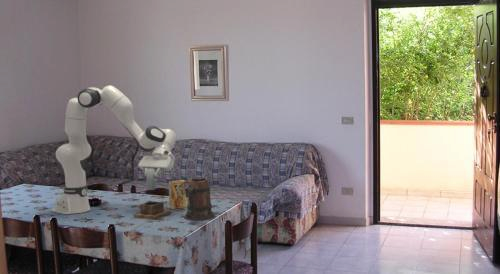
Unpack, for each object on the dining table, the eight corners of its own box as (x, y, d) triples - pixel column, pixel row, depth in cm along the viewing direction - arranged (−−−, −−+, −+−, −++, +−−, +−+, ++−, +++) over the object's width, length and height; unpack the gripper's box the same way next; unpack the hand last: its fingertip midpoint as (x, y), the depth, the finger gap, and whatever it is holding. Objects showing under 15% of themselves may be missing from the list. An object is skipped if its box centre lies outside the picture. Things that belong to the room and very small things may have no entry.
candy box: (183, 206, 319) (182, 179, 317) (186, 207, 315) (185, 180, 314) (169, 208, 314) (168, 181, 313) (172, 209, 311) (171, 182, 309)
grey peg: (145, 189, 296) (144, 169, 295) (150, 188, 300) (149, 168, 299) (152, 190, 294) (151, 169, 293) (157, 188, 298) (156, 168, 297)
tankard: (190, 212, 303) (189, 176, 301) (220, 213, 298) (218, 177, 296) (173, 223, 280) (171, 184, 278) (204, 225, 276) (203, 185, 274)
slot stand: (133, 217, 295) (133, 205, 295) (149, 211, 308) (149, 199, 307) (155, 219, 289) (154, 207, 288) (170, 213, 301) (170, 201, 301)
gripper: (142, 151, 306) (131, 171, 298) (172, 152, 297) (163, 173, 289) (147, 158, 310) (137, 178, 303) (178, 159, 301) (168, 180, 294)
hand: (150, 175), depth 296 cm, fingers closed on grey peg, 4 cm apart
